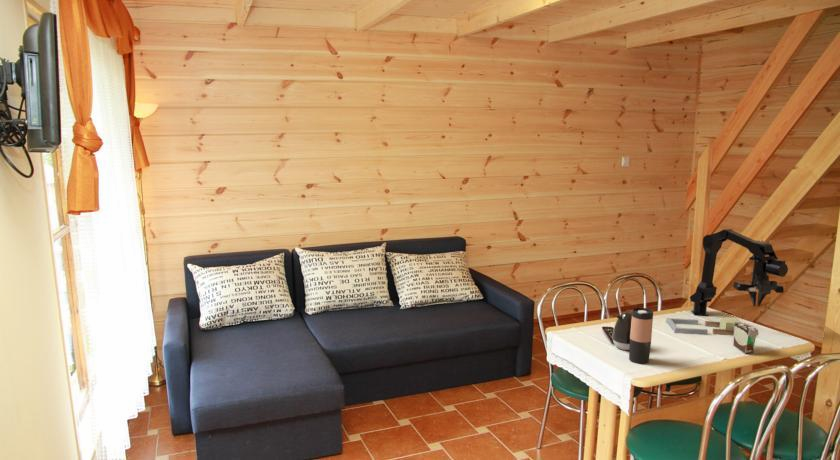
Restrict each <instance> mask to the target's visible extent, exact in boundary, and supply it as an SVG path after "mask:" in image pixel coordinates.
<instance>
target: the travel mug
mask: <svg viewBox="0 0 840 460" xmlns="http://www.w3.org/2000/svg"><path fill="white" fill-rule="evenodd" d="M631 313H632V320H631V332H630V348H629V350H628V351H629V353H628V358H629V359H628V360H629V361H630V362H631V363H634V364H637V365H646V364H648V363H649V361H650V355H651V345H652V337H653V335H652V334H653V322H654V320H653V319H654V311H653V310H652V309H649V308H647V307H634V308H632V310H631Z"/></svg>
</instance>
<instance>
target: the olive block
mask: <svg viewBox="0 0 840 460" xmlns="http://www.w3.org/2000/svg"><path fill="white" fill-rule="evenodd" d="M719 322H720V326H719V327H718V329H729V330H734V322H741V323H743V322H742V321H740V319H738V318H734V317H732V318H731V317H720V319H719Z"/></svg>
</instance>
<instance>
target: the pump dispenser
mask: <svg viewBox="0 0 840 460" xmlns="http://www.w3.org/2000/svg"><path fill="white" fill-rule="evenodd" d="M615 317H616V318H617V319H616V321H615V324H614V327H613V330H612V335H611V339H612V341H613V344H614V346H615V347H617V348H618V349H620V350H623V351H629V348H630V332H631V320H632V312H629V311H623V312H622V313H621V314H620V315H619V314H616V316H615Z"/></svg>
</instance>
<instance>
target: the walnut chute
mask: <svg viewBox="0 0 840 460" xmlns="http://www.w3.org/2000/svg"><path fill="white" fill-rule="evenodd" d="M704 326H705V327H708V328H709V327H713V328H712V334H713V335H724V336H734V330H729V329H720V328H719V326H720V321H711V320H710V321H709V320H706V321H705V320H704Z"/></svg>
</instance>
